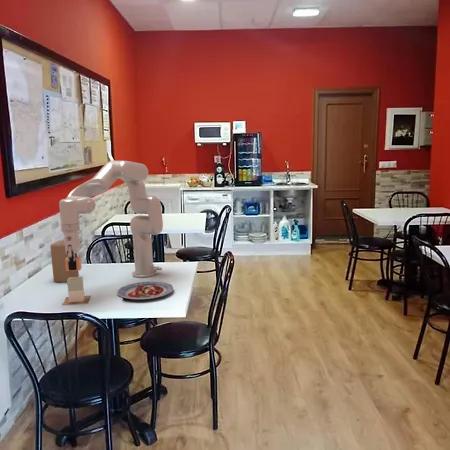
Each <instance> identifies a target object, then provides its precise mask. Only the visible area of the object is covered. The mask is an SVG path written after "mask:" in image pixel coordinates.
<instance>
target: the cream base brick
mask: <svg viewBox="0 0 450 450" xmlns="http://www.w3.org/2000/svg"><path fill="white" fill-rule="evenodd" d="M67 295H68V296H67V297H69V302H81V301H84V298H85V297H84V296H85V288H83V290H80V291H68V290H67Z"/></svg>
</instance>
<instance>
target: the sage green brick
mask: <svg viewBox="0 0 450 450" xmlns="http://www.w3.org/2000/svg"><path fill="white" fill-rule="evenodd" d="M83 278H84V277H83V276H79V277H69V278H68V280H67V282H66V283H67V292H68V291H80V290H83V288H84V279H83ZM84 289H85V288H84Z"/></svg>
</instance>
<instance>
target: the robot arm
mask: <svg viewBox="0 0 450 450" xmlns="http://www.w3.org/2000/svg"><path fill="white" fill-rule="evenodd" d="M148 177H149V168H148V167H147V166H146V165H145V164H144V163H141V162H140V163H139V162H135V161H129V160H110V161H107V162H106V163H105V164H104V165H103V166H102V167H101V168H100V170H99V171H98V172H97V173H96V174H95V175H94V176H93V177H92V178H91V179H89V180H87V181H85V182H83V183H82V184H79V185H78V186H76V187H75V188H74V189H72V190H71V191H70V192H69V194H68V195H67V196H66V198H62V199H60V200H59V202H58V204H59V217H60V227H61V232H62V233H64V234H63V235H64V241H65V251H66V254H67V255H68V265H69V270H76V269H77V266H76V261H75V257H79V256H78V254H79V253H80V251H81V244H80V234H79V231H80V229H81V227H80V216H79V215H88V214H90V213H91V214H92V212H93V211H94V210H95V209H96V201H95V200H94V199H93V198H92V197H94V196H98V195H101V194H104V193H105V192H107V191H108V190H109V189H110V188H111V186H113V184H114V183H115V181H117V180H118V179H120V180H121V181H123V182H124V184H126V186H127V188H128V195H129V201H130V208H131V211H132V212H133V213H134V214H142V215H135V216H132V218H131V220H130V222H129V227H130V231H131V234H132V241H133V243H132V244H133V257H134V259H133V260H134V271H133V272H131V273H132V276H133V277H134V278H135V277H136V278H149V277H153V276H155V275H157V271H162V270H163V269H162V266H157V265H156V266H154V261H153V260H154V259H153V244H152V238H151V236H152V235H153V236H156V235H159V234H161V233H162V231H163V227H164V223H163V222H164V221H163V211H162V204H161V200H160V199H159V197H157V196H155V195H148V194H147V190H146V186H145V185H146V184H145V182H144V181H145V180H146V179H147V178H148ZM144 214H145V215H144ZM150 235H151V236H150Z"/></svg>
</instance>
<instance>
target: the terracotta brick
mask: <svg viewBox="0 0 450 450" xmlns="http://www.w3.org/2000/svg"><path fill="white" fill-rule="evenodd" d="M75 261H76V266H77V269H76V270H69V265H68V257H67V258H66V259H65V265H66V271H77V270H78V271H81V270H82V267H83V266H82V264H83V263H82V256H78V257H75Z"/></svg>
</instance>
